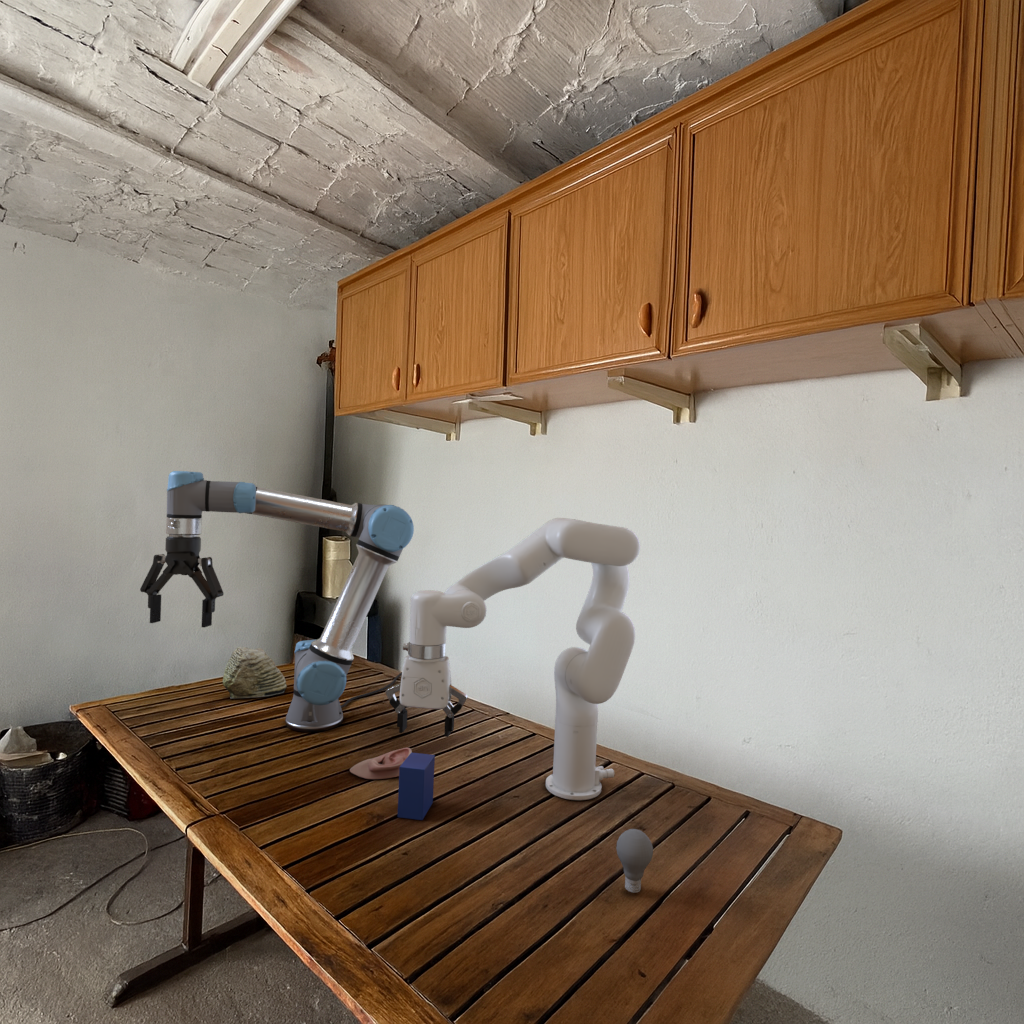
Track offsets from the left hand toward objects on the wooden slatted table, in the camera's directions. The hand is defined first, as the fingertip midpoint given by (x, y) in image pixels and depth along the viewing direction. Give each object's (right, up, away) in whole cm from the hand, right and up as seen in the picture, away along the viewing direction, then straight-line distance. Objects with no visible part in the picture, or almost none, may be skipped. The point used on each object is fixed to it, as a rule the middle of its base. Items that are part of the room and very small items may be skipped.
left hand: (180, 624), depth 152 cm
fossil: (-1, -30, +46) cm, 55 cm away
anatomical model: (+49, -34, -4) cm, 59 cm away
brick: (+60, -34, -22) cm, 72 cm away
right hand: (+61, -19, -20) cm, 67 cm away
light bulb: (+100, -37, -46) cm, 116 cm away
